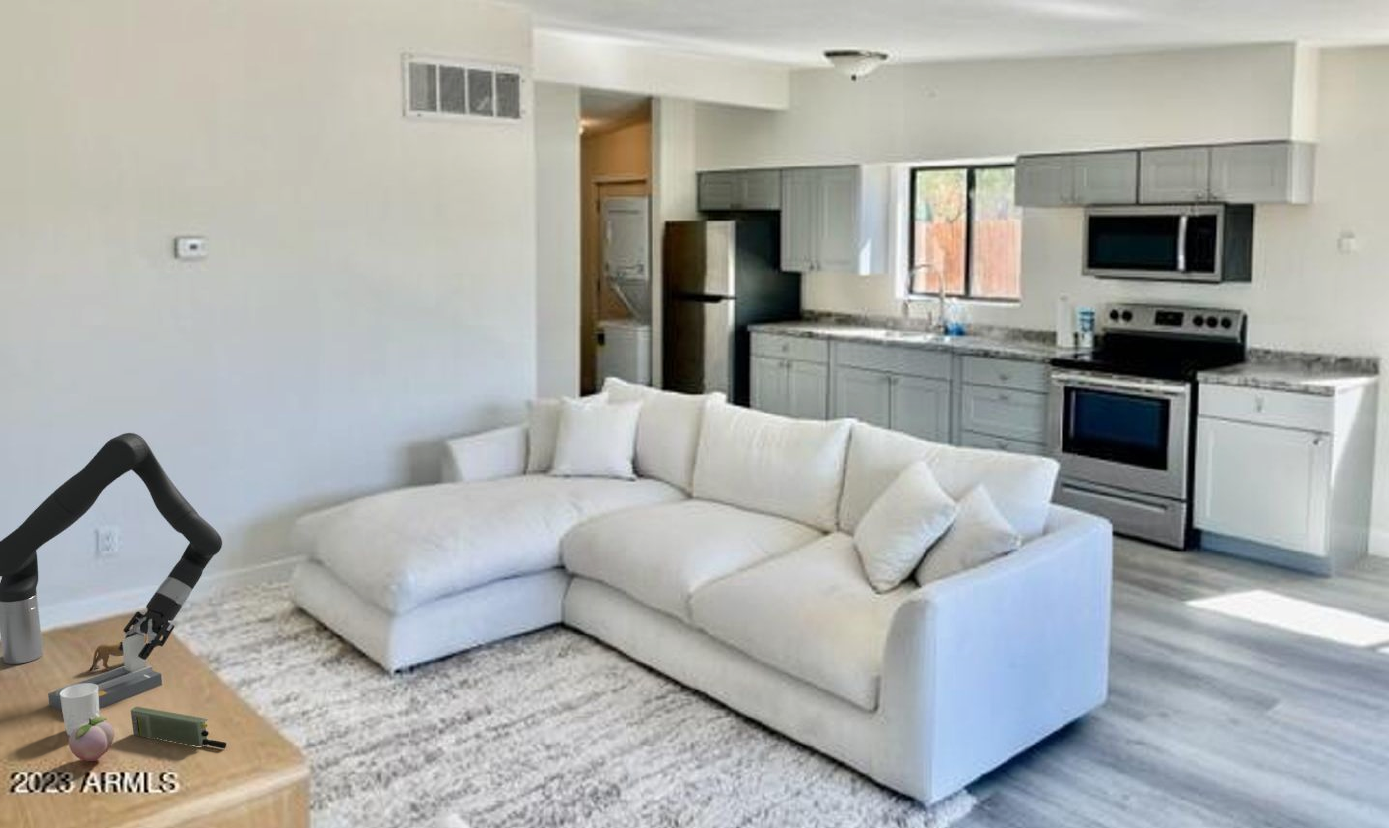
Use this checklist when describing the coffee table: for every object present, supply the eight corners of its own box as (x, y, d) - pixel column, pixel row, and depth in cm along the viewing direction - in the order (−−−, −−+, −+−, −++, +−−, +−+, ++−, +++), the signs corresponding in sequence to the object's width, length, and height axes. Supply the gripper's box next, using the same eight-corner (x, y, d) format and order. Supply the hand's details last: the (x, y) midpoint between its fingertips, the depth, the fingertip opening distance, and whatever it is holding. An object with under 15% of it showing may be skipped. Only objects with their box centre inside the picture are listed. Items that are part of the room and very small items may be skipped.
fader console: (49, 705, 277) (47, 687, 276) (134, 674, 295) (133, 657, 294) (76, 717, 271) (74, 699, 270) (162, 684, 289) (160, 668, 288)
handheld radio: (142, 730, 265) (230, 747, 257) (131, 737, 262) (220, 754, 254) (138, 704, 263) (227, 720, 256) (127, 711, 260) (217, 727, 252)
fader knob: (124, 672, 288) (120, 638, 287) (138, 667, 292) (135, 633, 290) (133, 675, 286) (130, 642, 284) (148, 670, 289) (145, 637, 288)
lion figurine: (145, 655, 307) (142, 624, 306) (151, 661, 304) (149, 629, 302) (86, 670, 298) (82, 637, 296) (92, 676, 294) (88, 643, 292)
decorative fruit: (86, 750, 254) (81, 708, 253) (122, 751, 254) (118, 709, 252) (61, 771, 245) (57, 728, 243) (99, 772, 245) (94, 728, 243)
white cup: (109, 727, 266) (105, 687, 264) (79, 741, 259) (75, 700, 257) (86, 720, 269) (82, 680, 267) (56, 734, 262) (51, 693, 260)
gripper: (142, 586, 296) (104, 642, 288) (175, 597, 288) (137, 654, 281) (163, 600, 301) (126, 655, 294) (196, 610, 294) (158, 667, 286)
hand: (131, 654), depth 287 cm, fingers open, 8 cm apart
